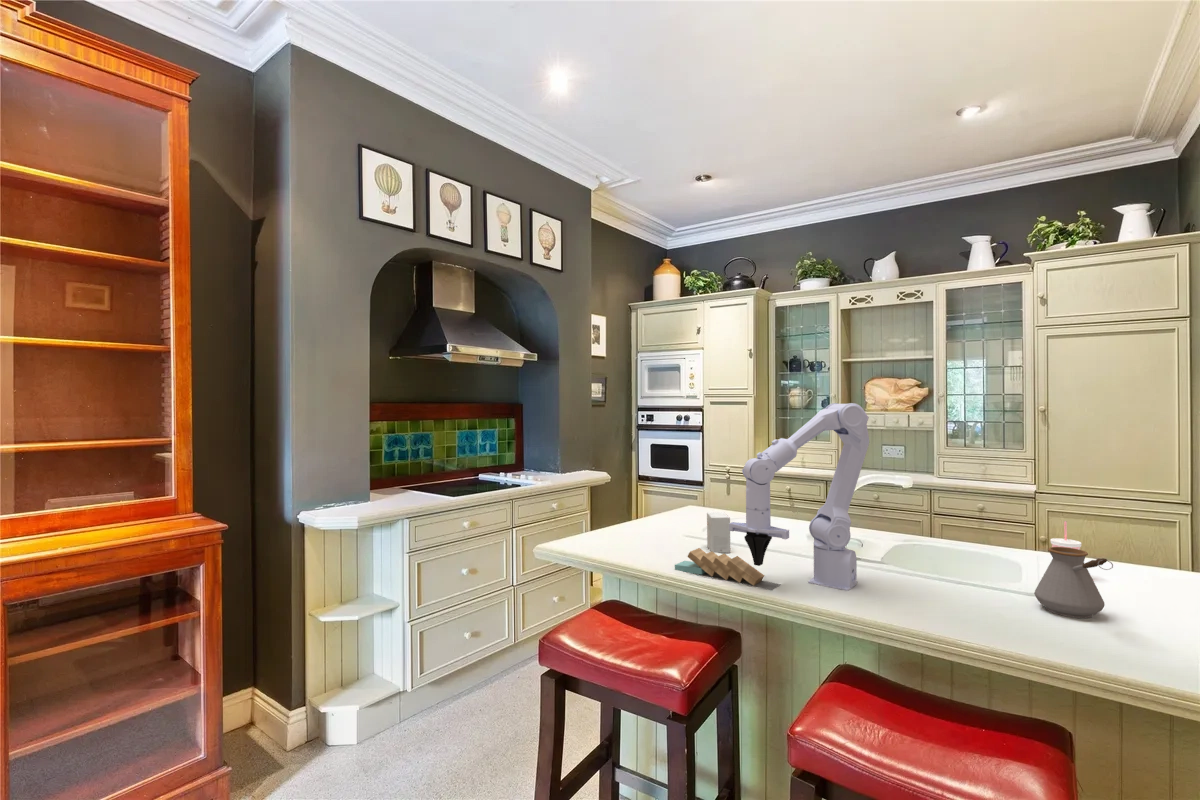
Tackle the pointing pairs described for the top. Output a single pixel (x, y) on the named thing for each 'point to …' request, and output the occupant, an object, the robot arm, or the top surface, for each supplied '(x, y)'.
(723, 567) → the domino
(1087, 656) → the top surface
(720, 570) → the domino
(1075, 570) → the coffee pot
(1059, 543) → the beverage cup
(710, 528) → the small box
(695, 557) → the domino
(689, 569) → the teal domino
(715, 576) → the mat
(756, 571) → the domino
